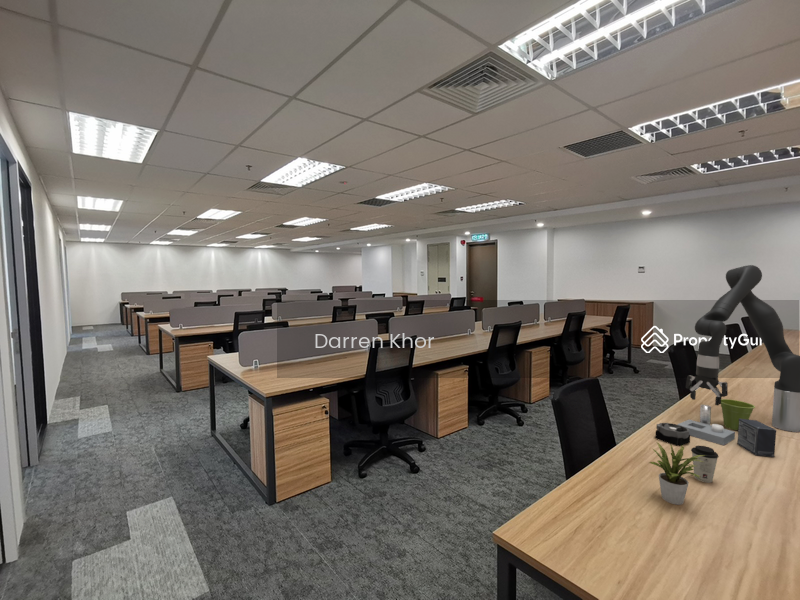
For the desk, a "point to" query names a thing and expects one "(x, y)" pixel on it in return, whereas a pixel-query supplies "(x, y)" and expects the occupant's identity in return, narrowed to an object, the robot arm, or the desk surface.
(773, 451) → the small box
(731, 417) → the plant pot
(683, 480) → the house plant
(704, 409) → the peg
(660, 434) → the cpu cooler
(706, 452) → the coffee cup
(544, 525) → the desk surface
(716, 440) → the peg board
